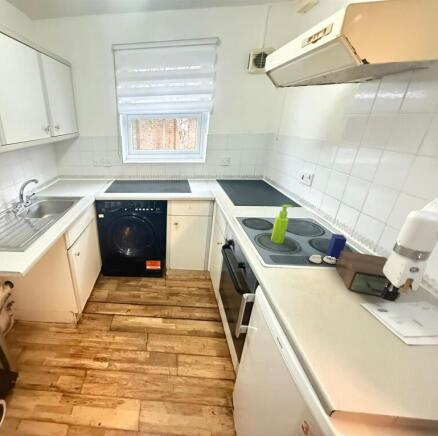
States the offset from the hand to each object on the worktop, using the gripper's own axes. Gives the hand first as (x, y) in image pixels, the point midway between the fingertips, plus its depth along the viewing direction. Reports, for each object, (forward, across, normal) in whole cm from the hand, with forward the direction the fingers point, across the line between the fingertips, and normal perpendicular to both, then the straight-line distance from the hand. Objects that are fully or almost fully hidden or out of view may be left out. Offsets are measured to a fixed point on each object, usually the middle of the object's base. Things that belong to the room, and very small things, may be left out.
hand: (387, 298), depth 78 cm
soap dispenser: (+5, +42, +28) cm, 51 cm away
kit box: (+5, +33, +6) cm, 34 cm away
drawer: (+4, +12, 0) cm, 13 cm away
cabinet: (+5, +16, 0) cm, 17 cm away
